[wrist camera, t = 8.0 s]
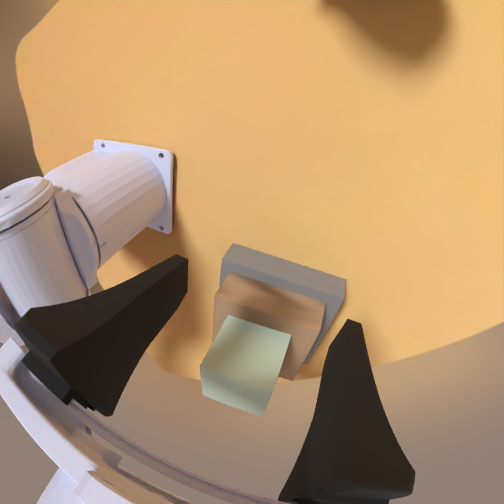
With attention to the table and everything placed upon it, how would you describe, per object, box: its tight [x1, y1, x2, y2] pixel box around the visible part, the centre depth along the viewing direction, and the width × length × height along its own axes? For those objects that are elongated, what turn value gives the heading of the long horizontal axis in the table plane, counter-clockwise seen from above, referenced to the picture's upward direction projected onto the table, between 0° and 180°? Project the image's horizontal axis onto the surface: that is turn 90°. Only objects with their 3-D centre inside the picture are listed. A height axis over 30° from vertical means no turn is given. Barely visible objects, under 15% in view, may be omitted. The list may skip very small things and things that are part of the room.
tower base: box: [219, 243, 346, 364], centre depth 25 cm, size 10×10×3 cm
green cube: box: [200, 315, 291, 416], centre depth 20 cm, size 5×5×5 cm
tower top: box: [212, 272, 326, 381], centre depth 23 cm, size 8×8×3 cm
